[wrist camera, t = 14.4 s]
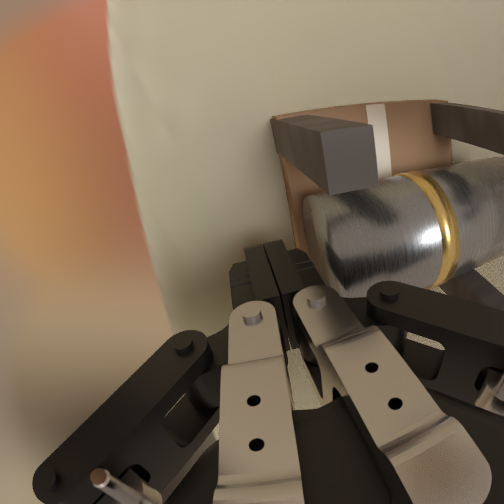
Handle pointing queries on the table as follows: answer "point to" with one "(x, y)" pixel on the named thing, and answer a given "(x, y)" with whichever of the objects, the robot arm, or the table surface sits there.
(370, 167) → the cylinder holder stand
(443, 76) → the table surface
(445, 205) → the grey cylinder
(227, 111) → the table surface
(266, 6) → the table surface
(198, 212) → the table surface
